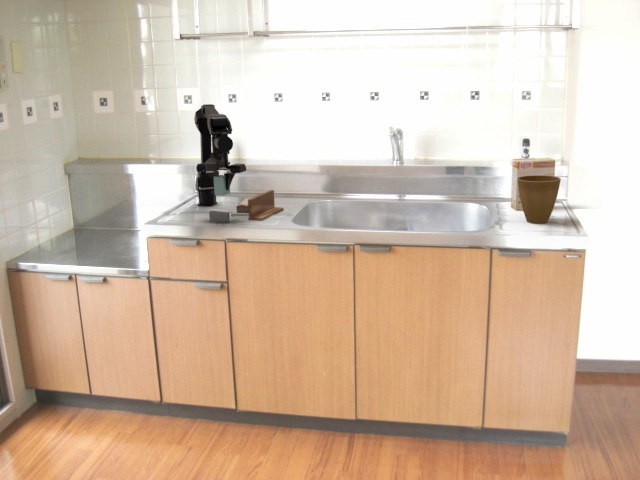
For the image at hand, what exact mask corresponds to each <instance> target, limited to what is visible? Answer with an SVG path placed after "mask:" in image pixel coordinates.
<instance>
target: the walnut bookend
mask: <svg viewBox="0 0 640 480" xmlns="http://www.w3.org/2000/svg"><path fill="white" fill-rule="evenodd" d="M249 198H250V199H248V213H249V216H248V220H249V221H259V222H263V221H264V220H267V219H269V218H270V217H273V216H274V215H277V214H278V213H280V212H282V211H284V207H279V206H277V207H276V206H275V190H274V189H271V190H268V191H264V192H262V193H260V194H258V195H255V196H253V197H249Z"/></svg>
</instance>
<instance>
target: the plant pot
mask: <svg viewBox="0 0 640 480" xmlns="http://www.w3.org/2000/svg"><path fill="white" fill-rule="evenodd" d="M517 180H518V189H519V195H520V200H521V204H522V208H523V210H522V211H523V215H524V217H525V220H526V222H528V223H530V224H547V223H548V222H549V220H550V217H551V216H552V213H553V210H554V208H555V205H556V202H557V199H558V194H559V189H560V186H561V185H560V184H561V180H562V179H561V177H559V176H545V175H531V176H522V177H518V178H517Z"/></svg>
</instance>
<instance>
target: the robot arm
mask: <svg viewBox="0 0 640 480" xmlns="http://www.w3.org/2000/svg"><path fill="white" fill-rule="evenodd" d="M193 120H194V125H195V128H196V129H197V131H198V132H199V134H200V139H199V140H200V163H197V165H196V167H195V169H196V172H197V177H196V179H195V185H194V187H195V191H196V192H198V203H197V206H201V207H202V206H205V207H212V206H214V205H217V204H218V202H217V195H215V192H214V177H215V176H218V175H220V171H226V172H224V173H223V175H225V177H226V190H227V191H228V190H229V188H230V189H231V185H232V182H233V180H234V178H235V176H236V174H240V173H245V172H246V171H247V166H246V164H245V163H233V164H231V162H230V161H229V154H230V151H231V150H232V149H233V147H234V142H233V139H232V138H231V137H229V135H232V134H233V133H232V132H233V127H232V124H231V121H230V119H229V117H228V116H227V115H226V114H223V113H219V111H218V110H217V109H216V106H215V104H211V103H209V104H202V105H201V106H200V108H199V109H197V110H196V111H195V114H194V119H193Z"/></svg>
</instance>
